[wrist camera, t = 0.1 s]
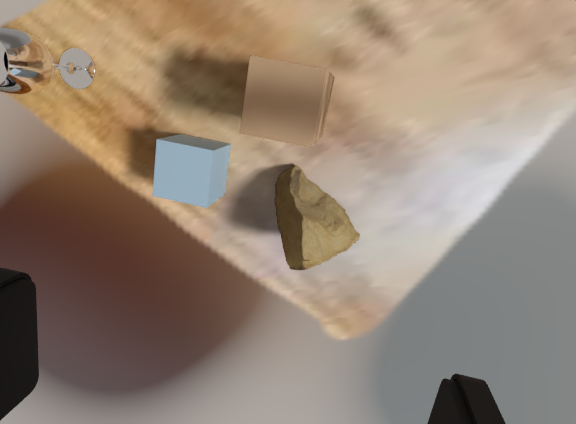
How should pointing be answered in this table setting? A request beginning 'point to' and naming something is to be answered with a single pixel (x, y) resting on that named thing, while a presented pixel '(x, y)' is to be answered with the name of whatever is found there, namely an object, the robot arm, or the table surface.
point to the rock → (310, 221)
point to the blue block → (190, 169)
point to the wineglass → (38, 64)
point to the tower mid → (284, 101)
